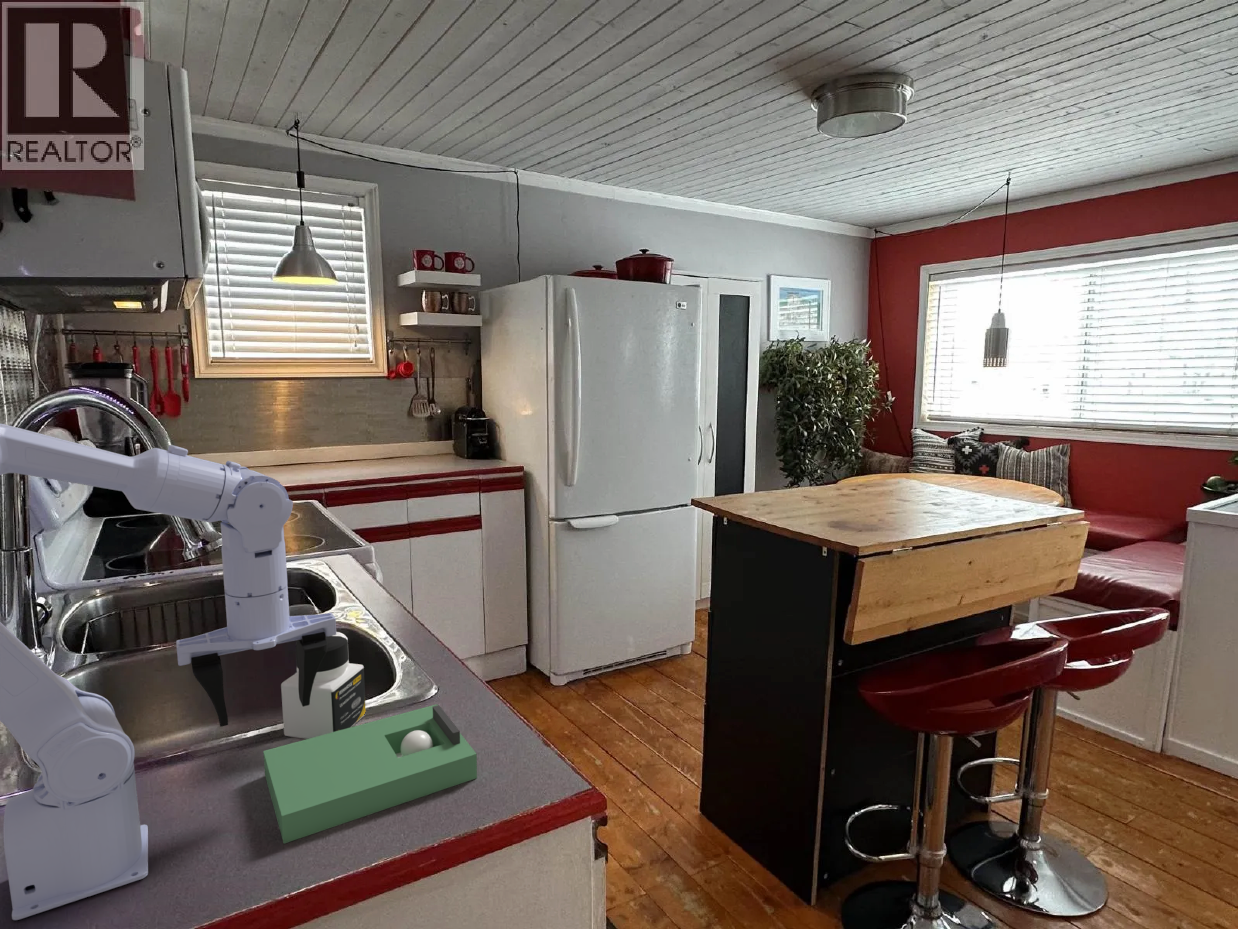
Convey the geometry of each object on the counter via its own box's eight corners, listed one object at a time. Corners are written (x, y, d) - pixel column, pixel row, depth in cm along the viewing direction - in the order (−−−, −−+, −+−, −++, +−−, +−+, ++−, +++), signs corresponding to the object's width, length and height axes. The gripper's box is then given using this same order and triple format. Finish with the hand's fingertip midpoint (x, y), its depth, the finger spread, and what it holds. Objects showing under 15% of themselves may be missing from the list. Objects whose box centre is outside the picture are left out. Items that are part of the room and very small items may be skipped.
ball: (441, 757, 82) (411, 775, 80) (430, 743, 85) (402, 760, 83) (431, 733, 81) (401, 750, 79) (421, 719, 84) (392, 735, 82)
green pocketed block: (283, 843, 68) (280, 802, 68) (264, 775, 79) (262, 738, 78) (476, 778, 79) (476, 741, 79) (437, 725, 90) (436, 693, 89)
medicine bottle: (334, 744, 86) (330, 651, 84) (282, 737, 87) (277, 645, 85) (366, 714, 92) (363, 628, 90) (318, 708, 94) (313, 623, 92)
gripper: (173, 614, 64) (186, 750, 67) (340, 587, 72) (346, 709, 74) (171, 591, 70) (182, 717, 72) (325, 568, 78) (331, 682, 80)
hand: (265, 711), depth 74 cm, fingers open, 7 cm apart
